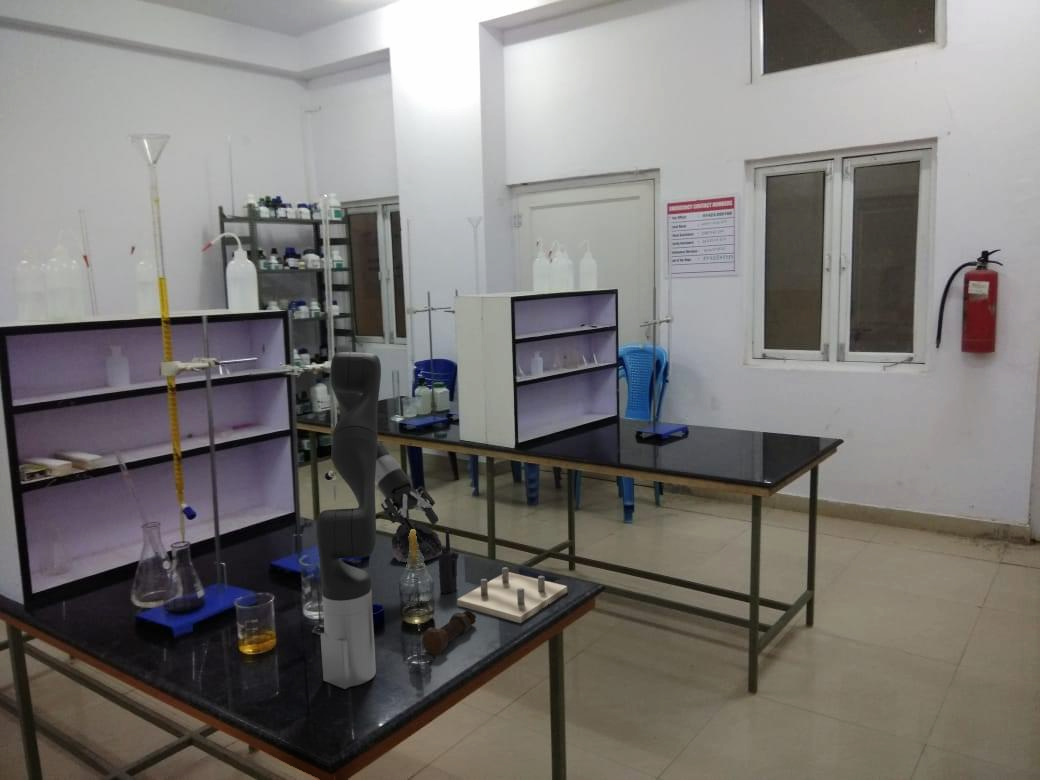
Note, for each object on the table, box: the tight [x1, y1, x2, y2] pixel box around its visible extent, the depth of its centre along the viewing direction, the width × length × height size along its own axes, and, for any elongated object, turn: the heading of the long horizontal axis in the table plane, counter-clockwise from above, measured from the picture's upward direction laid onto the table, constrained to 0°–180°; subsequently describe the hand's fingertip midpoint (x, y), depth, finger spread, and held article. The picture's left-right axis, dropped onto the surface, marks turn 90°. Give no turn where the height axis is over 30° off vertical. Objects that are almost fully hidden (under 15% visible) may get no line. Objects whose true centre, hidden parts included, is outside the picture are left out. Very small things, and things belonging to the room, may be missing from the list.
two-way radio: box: [438, 529, 459, 594], centre depth 189 cm, size 6×4×15 cm
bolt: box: [421, 610, 477, 656], centre depth 164 cm, size 6×5×15 cm
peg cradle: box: [456, 566, 568, 624], centre depth 184 cm, size 20×18×5 cm
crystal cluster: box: [391, 521, 443, 563], centre depth 214 cm, size 13×14×10 cm
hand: (424, 527), depth 192 cm, fingers open, 8 cm apart
